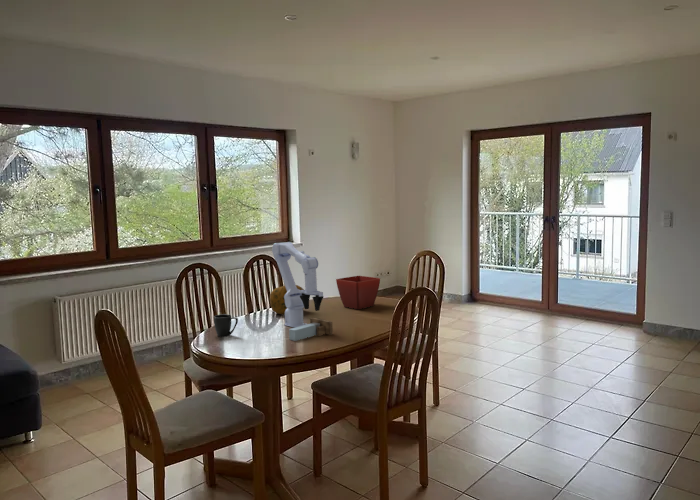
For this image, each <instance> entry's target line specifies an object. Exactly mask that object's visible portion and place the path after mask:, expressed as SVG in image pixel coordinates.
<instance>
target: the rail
mask: <svg viewBox="0 0 700 500" xmlns="http://www.w3.org/2000/svg"><path fill="white" fill-rule="evenodd" d="M306 324H307V325H303V326H299V327H291V328H288V336H289V340H290V341H293V342H297V341H300V339H301V340H304V339H307V337H308V338H312V337H313V336H314V335H315V336H318V335H317V327H319V326H320V324H319V323H310V322H309V323H306Z"/></svg>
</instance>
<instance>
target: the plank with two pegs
mask: <svg viewBox="0 0 700 500" xmlns="http://www.w3.org/2000/svg"><path fill="white" fill-rule="evenodd" d="M310 323H319V324H320V326H319V327H317V335H316V336H319V337H320V336H323V334H324V335H333V332H334V331H333V321H331V320H326V319H320V318H315V317H310V318H309V324H310ZM325 333H326V334H325Z"/></svg>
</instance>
